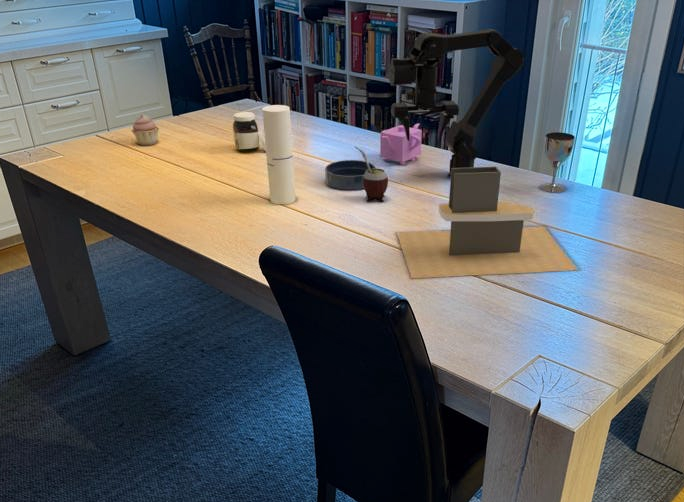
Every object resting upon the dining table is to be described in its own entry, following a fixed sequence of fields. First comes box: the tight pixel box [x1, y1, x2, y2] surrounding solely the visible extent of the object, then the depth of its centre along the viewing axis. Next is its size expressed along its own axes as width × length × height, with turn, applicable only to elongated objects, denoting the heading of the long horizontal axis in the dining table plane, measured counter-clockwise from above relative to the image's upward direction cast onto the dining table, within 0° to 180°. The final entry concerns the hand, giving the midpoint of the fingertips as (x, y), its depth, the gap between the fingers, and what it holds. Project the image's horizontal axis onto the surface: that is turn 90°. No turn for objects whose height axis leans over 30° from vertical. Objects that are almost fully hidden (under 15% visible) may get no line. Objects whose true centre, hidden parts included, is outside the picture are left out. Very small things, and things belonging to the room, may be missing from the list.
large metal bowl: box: [324, 159, 377, 191], centre depth 202 cm, size 15×15×4 cm
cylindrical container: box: [261, 104, 297, 205], centre depth 184 cm, size 7×7×25 cm
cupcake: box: [131, 113, 160, 146], centre depth 234 cm, size 9×9×10 cm
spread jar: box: [232, 111, 266, 154], centre depth 227 cm, size 12×11×12 cm
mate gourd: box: [354, 145, 389, 203], centre depth 187 cm, size 8×8×15 cm
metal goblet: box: [539, 131, 576, 193], centre depth 193 cm, size 8×8×15 cm
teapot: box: [379, 123, 423, 166], centre depth 217 cm, size 15×13×11 cm
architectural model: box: [396, 166, 579, 279], centre depth 157 cm, size 38×25×20 cm, turn 96°
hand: (423, 139), depth 198 cm, fingers open, 9 cm apart
